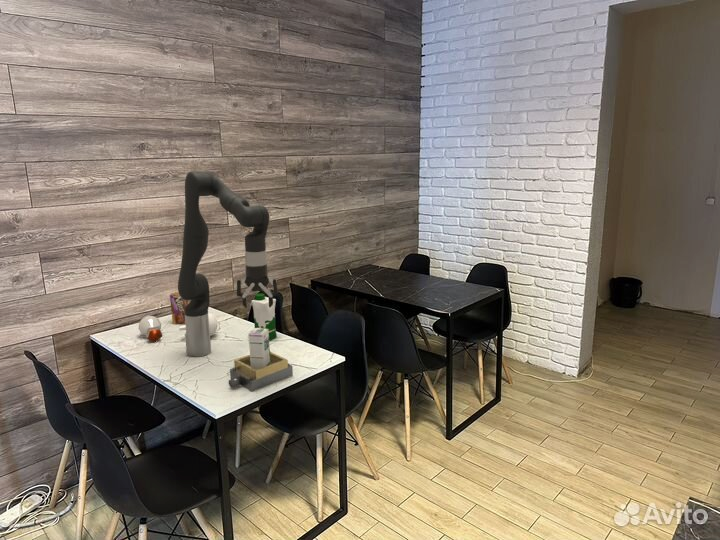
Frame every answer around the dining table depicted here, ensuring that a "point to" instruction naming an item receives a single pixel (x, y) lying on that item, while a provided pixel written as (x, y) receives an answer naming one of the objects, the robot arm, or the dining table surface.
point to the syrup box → (259, 348)
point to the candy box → (178, 308)
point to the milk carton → (264, 314)
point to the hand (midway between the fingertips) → (258, 306)
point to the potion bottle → (151, 328)
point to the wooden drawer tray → (259, 373)
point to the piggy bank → (212, 324)
